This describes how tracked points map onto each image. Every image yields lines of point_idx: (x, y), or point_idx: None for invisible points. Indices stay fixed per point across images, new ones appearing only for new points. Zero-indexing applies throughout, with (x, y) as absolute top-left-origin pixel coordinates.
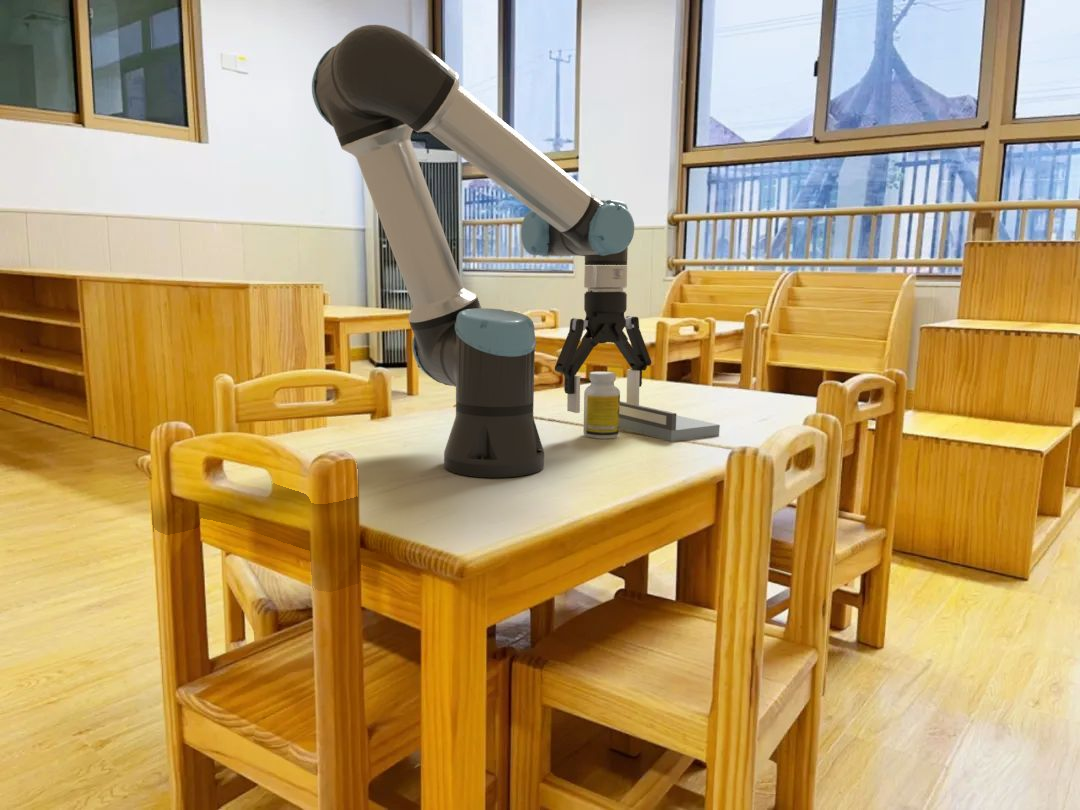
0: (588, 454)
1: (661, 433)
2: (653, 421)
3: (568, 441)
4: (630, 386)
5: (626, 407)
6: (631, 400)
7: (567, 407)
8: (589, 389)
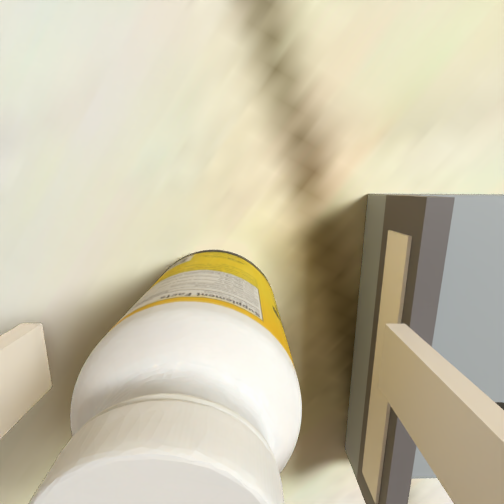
0: (41, 469)
1: (353, 428)
2: (368, 422)
3: (72, 319)
4: (439, 416)
5: (401, 287)
6: (392, 370)
7: (9, 330)
8: (72, 434)
